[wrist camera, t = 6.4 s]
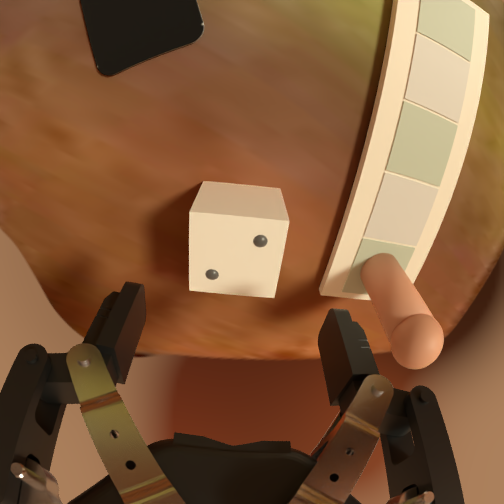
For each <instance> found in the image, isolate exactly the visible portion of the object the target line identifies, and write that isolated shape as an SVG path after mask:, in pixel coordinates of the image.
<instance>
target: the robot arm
mask: <svg viewBox="0 0 504 504" xmlns="http://www.w3.org/2000/svg"><path fill="white" fill-rule="evenodd" d="M145 319H146V303H145V291H144V285H143V284H138V283H132V282H126V283H125V284H124V286H123V288H122V290H121V292H120V293H119V292H112V293H111V294H110V295H109V296H107V297H106V298H105V299H104V301H103V303H102V305H101V307H100V309H99V311H98V313H97V316H96V317H95V318H94V320H93V322H92V324H91V326H90V328H89V330H88V332H87V334H86V336H85V338H84V341H83V342H82V344H78V345H76V346H74V347H73V348H71V349H70V351H69V352H68V353H53V354H52V353H47V352H46V350H45V348H44V347H43V346H41V345H39V344H29V345H26V346H25V347H23V348H22V349H21V350H20V351H19V353H18V355H17V357H16V359H15V361H14V363H13V365H12V367H11V370H10V372H9V374H8V376H7V378H6V381H5V383H4V385H3V388H2V390H1V393H0V504H62V502H61V500H60V498H59V487H58V483H57V480H56V478H55V477H54V476H53V475H52V474H51V473H50V472H49V471H50V466H51V461H52V457H53V453H54V449H55V444H56V441H57V437H58V433H59V429H60V425H61V422H62V418H63V415H64V411H65V408H66V405H67V404H80V405H81V407H80V409H81V413H82V416H83V418H84V421H85V423H86V426H87V428H88V431H89V433H90V435H91V438H92V440H93V442H94V444H95V447H96V449H97V451H98V453H99V455H100V457H101V459H102V462H103V463H104V466H105V467H106V470H107V471H108V473H109V475H107V476H106V477H105V478H103V479H102V480H100V481H99V482H98V483H96V484H95V485H93V486H92V487H90V488H89V489H87V490H86V491H85V492H83V493H82V494H80V495H79V496H77V497H76V498H75V499H73V500H71V501H70V502H69V503H68V504H361V503H360V502H359V501H358V500H357V499H355V498H354V497H353V496H352V495H351V494H350V493H351V491H352V490H353V488H354V486H355V484H356V483H357V481H358V479H359V477H360V475H361V474H362V472H363V470H364V468H365V466H366V464H367V462H368V460H369V458H370V456H371V454H372V452H373V450H374V448H375V446H376V444H377V442H378V440H379V437H380V438H381V443H382V449H383V454H384V460H385V466H386V473H387V479H388V486H389V494H390V500H388V502H387V503H386V504H464V498H463V494H462V488H461V484H460V479H459V475H458V471H457V466H456V463H455V459H454V455H453V451H452V447H451V444H450V440H449V437H448V433H447V430H446V427H445V423H444V420H443V417H442V414H441V411H440V408H439V405H438V402H437V399H436V396H435V394H434V393H433V392H432V391H431V390H430V389H429V388H427V387H425V386H416V387H414V388H413V389H412V390H411V391H410V392H407V391H403V390H399V389H395V388H393V386H392V384H391V382H390V381H389V380H388V379H387V378H385V377H383V376H381V375H380V374H379V371H378V368H377V366H376V363H375V360H374V357H373V354H372V351H371V349H370V346H369V343H368V341H367V338H366V335H365V332H364V330H363V329H362V328H361V326H360V325H359V324H358V323H357V322H352V319H351V316H350V314H349V311H348V310H344V309H330V310H329V312H328V314H327V316H326V319H325V321H324V323H323V326H322V328H321V330H320V332H319V336H318V347H319V351H320V356H321V361H322V365H323V371H324V375H325V380H326V385H327V391H328V396H329V401H330V406H336V405H339V406H340V412H339V413H338V414H337V416H336V418H335V419H334V421H333V422H332V424H331V425H330V427H329V429H328V430H327V432H326V433H325V435H324V436H323V438H322V439H321V441H320V442H319V444H318V445H317V446H316V448H315V449H314V450H313V451H312V452H311V454H310V455H307V454H305V453H303V452H301V451H299V450H296V449H293V448H291V446H290V441H260V442H255V443H249V444H243V445H237V446H231V445H228V444H225V443H221V442H218V441H215V440H212V439H209V438H206V437H203V436H196V435H189V434H182V433H174V439H166V440H161V441H158V442H154V443H152V444H150V445H148V446H147V445H146V444H145V442H144V440H143V438H142V437H141V435H140V433H139V431H138V429H137V428H136V426H135V424H134V422H133V420H132V418H131V416H130V414H129V413H128V411H127V409H126V407H125V405H124V403H123V401H122V399H121V397H120V395H119V394H118V392H117V390H116V388H115V387H116V383H121V384H125V381H126V378H127V375H128V372H129V369H130V366H131V363H132V359H133V357H134V353H135V350H136V347H137V344H138V342H139V339H140V336H141V333H142V330H143V327H144V324H145ZM411 433H412V435H411ZM412 437H413V439H412ZM413 441H414V443H413Z"/></svg>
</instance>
